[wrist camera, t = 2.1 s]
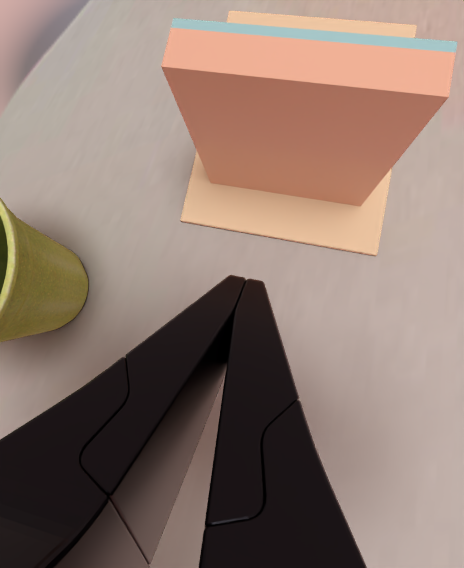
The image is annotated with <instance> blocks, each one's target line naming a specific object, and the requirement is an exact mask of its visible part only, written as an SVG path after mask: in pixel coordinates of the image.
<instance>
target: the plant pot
mask: <svg viewBox="0 0 464 568" xmlns="http://www.w3.org/2000/svg"><path fill="white" fill-rule="evenodd" d="M87 292H88V278H87V275H86V272H85V270H84V268H83V266H82V264H81V262H80V259H79V258H78V257H77V256H76V255H75V254H74V253H73V252H71V251H70V250H68V249H67V248H65V247H64V246H62V245H60V244H59V243H57V242H55V241H54V240H52V239H50V238H49V237H47V236H45V235H44V234H42V233H40V232H39V231H37V230H36V229H34V228H32V227H31V226H29V225H28V224H26V223H24V222H23V221H21V220H20V219H18V218H17V217H16V216H15V215H14V214H13V213H12V212H11V211H10V210H9V209H8V208H7V207H6V205H5V203H4V202H3V201H2V199H1V198H0V342H3V341H8V340H12V339H16V338H21V337H25V336H29V335H34V334H39V333H43V332H47V331H52V330H55V329H58V328H60V327H62V326H63V325H65V324H67V323H68V322H70V321H71V320H73V319H74V318H75V317H76V316H77V314H78V313H79V312H80V310H81V308H82V307H83V305H84V303H85V300H86V297H87Z"/></svg>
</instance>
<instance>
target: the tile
mask: <svg viewBox="0 0 464 568" xmlns="http://www.w3.org/2000/svg"><path fill="white" fill-rule="evenodd" d="M456 47H457V42H455V41H443V40H431V39H419V38H407V37H395V36H383V35H371V34H359V33H347V32H335V31H323V30H311V29H299V28H287V27H275V26H263V25H251V24H239V23H227V22H215V21H203V20H191V19H179V18H173V22H172V26H171V30H170V34H169V38H168V42H167V46H166V50H165V54H164V58H163V62H162V66H161V67H162V69H163V72H164V74H165V76H166V79H167V81H168V83H169V86H170V88H171V91H172V93H173V95H174V98H175V100H176V102H177V105H178V107H179V109H180V112H181V114H182V116H183V119H184V121H185V124H186V126H187V128H188V131H189V133H190V135H191V138H192V140H193V142H194V145H195V147H196V149H197V152H198V154H199V157H200V159H201V161H202V164H203V166H204V168H205V171H206V173H207V175H208V178H209V180H210V182H211V183H214V184H220V185H227V186H233V187H239V188H246V189H252V190H258V191H265V192H271V193H278V194H284V195H290V196H297V197H303V198H309V199H316V200H322V201H329V202H335V203H341V204H348V205H354V206H360V207H361V205H362V204H363V203H364V202H365V200H366V199H367V198H368V197H369V195H370V194H371V193H372V192H373V190H374V189H375V188H376V187H377V185H378V184H379V183H380V182H381V180H382V179H383V178H384V177H385V175H386V174H387V173H388V172H389V170H390V169H391V168H392V167H393V165H394V164H395V163H396V162H397V161H398V159H399V158H400V157H401V156H402V154H403V153H404V152H405V151H406V149H407V148H408V147H409V146H410V144H411V143H412V142H413V141H414V139H415V138H416V137H417V136H418V134H419V133H420V132H421V131H422V129H423V128H424V127H425V126H426V124H427V123H428V122H429V121H430V119H431V118H432V117H433V116H434V114H435V113H436V112H437V111H438V110H439V108H440V107H441V106H442V105H443V103H444V102H445V101H446V100H447V98H448V97H449V91H450V85H451V78H452V72H453V66H454V60H455V53H456Z"/></svg>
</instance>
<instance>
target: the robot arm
mask: <svg viewBox="0 0 464 568" xmlns="http://www.w3.org/2000/svg"><path fill="white" fill-rule="evenodd" d="M225 373H226V374H225ZM224 375H225V382H224V389H223V396H222V403H221V411H220V418H219V425H218V432H217V439H216V447H215V454H214V461H213V468H212V476H211V483H210V490H209V497H208V505H207V512H206V519H205V530H204V534H203V541H202V548H201V555H200V562H199V568H367V567H366V565H365V562H364V560H363V558H362V555H361V553H360V551H359V548H358V546H357V544H356V542H355V539H354V537H353V535H352V532H351V530H350V528H349V526H348V523H347V521H346V519H345V516H344V514H343V512H342V510H341V507H340V505H339V503H338V500H337V498H336V496H335V494H334V491H333V489H332V487H331V484H330V482H329V480H328V477H327V475H326V472H325V470H324V467H323V465H322V462H321V460H320V457H319V455H318V452H317V450H316V447H315V444H314V441H313V439H312V436H311V433H310V430H309V427H308V424H307V421H306V418H305V415H304V411H303V408H302V405H301V402H300V401H299V396H298V392H297V389H296V386H295V383H294V379H293V376H292V373H291V369H290V366H289V363H288V360H287V356H286V353H285V350H284V346H283V343H282V340H281V337H280V333H279V330H278V327H277V324H276V320H275V317H274V314H273V310H272V307H271V304H270V301H269V297H268V294H267V291H266V288H265V284H264V282H263V281H259V280H254V279H247V280H246V279H245V278H244V277H239V276H234V275H230V276H228V277H227V278H225V279H224V280H223V281H221V282H220V283H219V284H217V285H216V286H215V287H214V288H212V289H211V290H210V291H208V292H207V293H206V294H204V295H203V296H202V297H201V298H199V299H198V300H197V301H195V302H194V303H193V304H191V305H190V306H189V307H188V308H186V309H185V310H184V311H182V312H181V313H180V314H178V315H177V316H176V317H174V318H173V319H172V320H171V321H169V322H168V323H167V324H165V325H164V326H163V327H161V328H160V329H159V330H158V331H156V332H155V333H154V334H152V335H151V336H150V337H148V338H147V339H146V340H145V341H143V342H142V343H141V344H139V345H138V346H137V347H135V348H134V349H133V350H132V351H130V352H129V353H128V354H126V358H125V357H122V358H121V359H120V360H118V361H117V362H116V363H114V364H113V365H112V366H110V367H109V368H108V369H106V370H105V371H104V372H102V373H101V374H100V375H98V376H97V377H95V378H94V379H93V380H91V381H90V382H89V383H87V384H86V385H85V386H83V387H82V388H80V389H79V390H77V391H76V392H74V393H72V394H71V395H69V396H68V397H66V398H65V399H63V400H62V401H60V402H59V403H57V404H56V405H54V406H53V407H51V408H50V409H48V410H46V411H45V412H43V413H42V414H40V415H39V416H37V417H35V418H34V419H32V420H31V421H29V422H27V423H26V424H24V425H23V426H21V427H20V428H18V429H16V430H15V431H13V432H12V433H10V434H9V435H7V436H5V437H4V438H2V439H1V440H0V568H149V565H148V564H150V563H151V561H152V559H153V556H154V553H155V551H156V548H157V546H158V543H159V541H160V538H161V536H162V533H163V531H164V528H165V525H166V523H167V520H168V518H169V515H170V513H171V510H172V508H173V505H174V503H175V500H176V497H177V495H178V492H179V490H180V487H181V485H182V482H183V480H184V477H185V475H186V472H187V470H188V467H189V464H190V462H191V459H192V457H193V454H194V452H195V449H196V447H197V444H198V442H199V439H200V436H201V434H202V431H203V429H204V426H205V424H206V421H207V419H208V416H209V414H210V411H211V408H212V406H213V403H214V401H215V398H216V396H217V393H218V391H219V388H220V386H221V383H222V381H223V378H224Z"/></svg>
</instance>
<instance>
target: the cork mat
mask: <svg viewBox="0 0 464 568" xmlns="http://www.w3.org/2000/svg"><path fill="white" fill-rule="evenodd" d="M227 23H239V24H251V25H263V26H275V27H287V28H299V29H311V30H323V31H335V32H347V33H359V34H371V35H383V36H395V37H407V38H415V33H416V27H417V25H408V24H395V23H382V22H369V21H357V20H344V19H331V18H318V17H305V16H292V15H279V14H266V13H254V12H241V11H229V14H228V18H227ZM391 171H392V168H391V169H390V170H389V172H388V173H387V174H386V175H385V177H384V178H383V179H382V180H381V182H380V183H379V184H378V185H377V187H376V188H375V189H374V190H373V192H372V193H371V194H370V195H369V197H368V198H367V199H366V200H365V202H364V203H363V204H362V205H361V207H360V206H354V205H348V204H341V203H335V202H329V201H322V200H316V199H309V198H303V197H297V196H290V195H284V194H278V193H271V192H265V191H258V190H252V189H246V188H239V187H233V186H227V185H220V184H214V183H211V182H210V180H209V178H208V175H207V173H206V171H205V168H204V166H203V164H202V161H201V159H200V157H199V154H198V152H197V151H196V156H195V160H194V164H193V169H192V173H191V177H190V181H189V186H188V190H187V194H186V199H185V203H184V207H183V212H182V216H181V222H186V223H192V224H198V225H203V226H209V227H214V228H220V229H226V230H231V231H237V232H243V233H248V234H254V235H260V236H265V237H271V238H277V239H282V240H288V241H294V242H299V243H305V244H311V245H316V246H322V247H328V248H333V249H339V250H345V251H350V252H356V253H362V254H367V255H373V256H376V255H377V252H378V246H379V241H380V235H381V229H382V223H383V218H384V212H385V206H386V200H387V194H388V189H389V183H390V177H391Z"/></svg>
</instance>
